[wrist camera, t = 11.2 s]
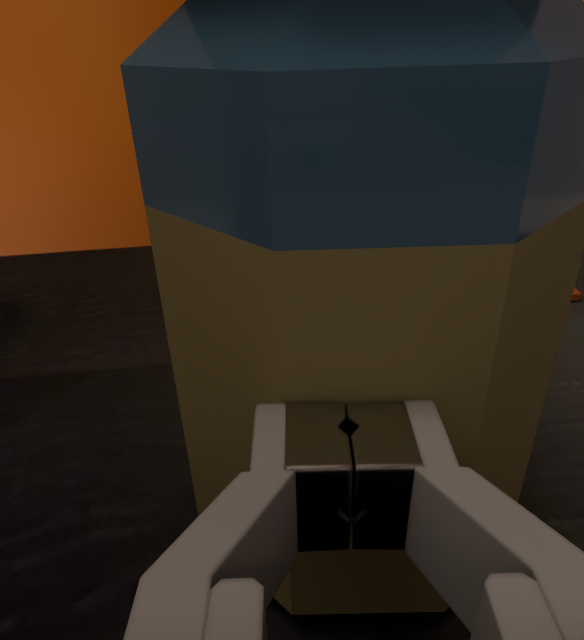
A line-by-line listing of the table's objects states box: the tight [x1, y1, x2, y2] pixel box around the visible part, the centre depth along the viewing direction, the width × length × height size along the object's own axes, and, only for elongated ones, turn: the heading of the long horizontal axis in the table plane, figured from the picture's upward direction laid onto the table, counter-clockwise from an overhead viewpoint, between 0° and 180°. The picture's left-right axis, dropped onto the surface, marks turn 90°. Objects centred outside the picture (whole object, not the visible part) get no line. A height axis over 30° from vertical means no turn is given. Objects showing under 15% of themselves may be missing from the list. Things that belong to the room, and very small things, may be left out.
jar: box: [120, 0, 584, 615], centre depth 12 cm, size 9×9×15 cm
